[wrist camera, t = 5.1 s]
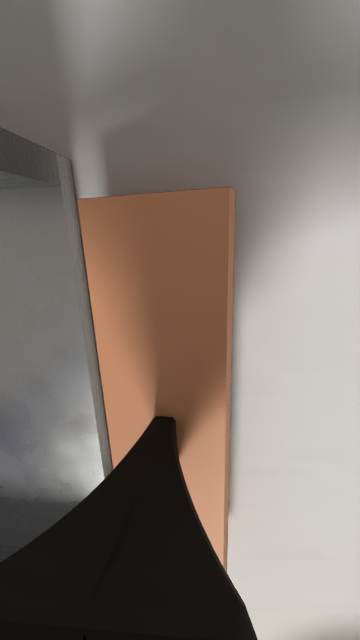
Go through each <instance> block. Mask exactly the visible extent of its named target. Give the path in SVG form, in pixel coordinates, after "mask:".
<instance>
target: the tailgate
mask: <svg viewBox="0 0 360 640" xmlns="http://www.w3.org/2000/svg"><path fill="white" fill-rule="evenodd" d="M235 200H236V191H235V190H234V189H232V188H231V187H221V188H208V189H196V190H184V191H171V192H159V193H147V194H135V195H122V196H110V197H98V198H85V199H77V203H78V210H79V217H80V225H81V232H82V240H83V247H84V255H85V262H86V269H87V277H88V284H89V292H90V299H91V306H92V314H93V321H94V329H95V336H96V343H97V351H98V358H99V366H100V373H101V380H102V388H103V395H104V403H105V410H106V418H107V425H108V432H109V440H110V447H111V455H112V462H113V469H114V468H115V467H116V466H117V465H118V464H119V462H120V461H121V460H122V459H123V458H124V457H125V455H126V454H127V453H128V452H129V450H130V449H131V448H132V447H133V445H134V444H135V443H136V442H137V440H138V439H139V438H140V436H141V435H142V434H143V432H144V431H145V429H146V428H147V427H148V425H149V424H150V422H151V421H152V419H153V418H154V417H155V416H165V417H173V418H174V419H175V420H176V434H177V450H178V456H179V461H180V465H181V468H182V472H183V475H184V479H185V482H186V485H187V488H188V491H189V493H190V496H191V499H192V501H193V504H194V507H195V509H196V511H197V514H198V516H199V519H200V521H201V523H202V525H203V527H204V529H205V532H206V534H207V536H208V538H209V540H210V542H211V544H212V546H213V548H214V550H215V552H216V554H217V556H218V558H219V560H220V562H221V564H222V565H223V567H224V569H225V571H226V573H227V547H228V503H229V460H230V417H231V373H232V330H233V287H234V243H235Z"/></svg>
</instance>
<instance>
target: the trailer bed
mask: <svg viewBox="0 0 360 640" xmlns="http://www.w3.org/2000/svg"><path fill="white" fill-rule="evenodd" d="M112 470H113V469H112V462H111V454H110V447H109V440H108V432H107V425H106V418H105V410H104V403H103V396H102V388H101V381H100V374H99V366H98V359H97V352H96V344H95V337H94V330H93V322H92V315H91V307H90V300H89V293H88V285H87V278H86V271H85V263H84V256H83V249H82V241H81V234H80V227H79V219H78V212H77V205H76V197H75V190H74V183H73V175H72V168H71V161H70V159H67V158H65V157H63V156H61V155H59V154H57V153H55V152H52V151H50V150H48V149H46V148H44V147H42V146H39V145H37V144H35V143H33V142H31V141H29V140H27V139H24V138H22V137H20V136H18V135H16V134H14V133H12V132H9V131H7V130H5V129H3V128H1V127H0V562H2V561H3V560H5V559H6V558H8V557H9V556H11V555H12V554H14V553H15V552H17V551H18V550H20V549H21V548H23V547H24V546H25V545H27V544H28V543H30V542H31V541H32V540H34V539H35V538H37V537H38V536H39V535H41V534H42V533H43V532H45V531H46V530H47V529H49V528H50V527H51V526H53V525H54V524H55V523H56V522H58V521H59V520H60V519H61V518H63V517H64V516H65V515H66V514H67V513H69V512H70V511H71V510H72V509H73V508H74V507H75V506H77V505H78V504H79V503H80V502H81V501H82V500H83V499H84V498H86V497H87V496H88V495H89V494H90V493H91V492H92V491H93V490H94V489H95V488H96V487H97V486H98V485H99V484H100V483H101V482H102V481H103V480H104V479H105V478H106V477H107V476H108V475H109V474H110V473H111V471H112Z"/></svg>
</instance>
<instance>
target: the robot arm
mask: <svg viewBox="0 0 360 640" xmlns="http://www.w3.org/2000/svg"><path fill="white" fill-rule="evenodd" d="M0 640H258V639H257V637H256V634H255V631H254V628H253V626H252V623H251V620H250V618H249V615H248V612H247V609H246V606H245V604H244V602H243V600H242V599H241V597H240V595H239V593H238V592H237V590H236V588H235V587H234V585H233V583H232V582H231V580H230V578H229V576H228V575H227V573H226V571H225V569H224V567H223V565H222V564H221V562H220V560H219V558H218V556H217V554H216V552H215V550H214V548H213V546H212V544H211V542H210V540H209V538H208V536H207V534H206V532H205V529H204V527H203V525H202V523H201V521H200V519H199V516H198V514H197V511H196V509H195V507H194V504H193V501H192V499H191V496H190V493H189V491H188V488H187V485H186V482H185V479H184V475H183V472H182V468H181V465H180V461H179V456H178V450H177V434H176V420H175V419H174V418H173V417H165V416H155V417H154V418H153V419H152V421H151V422H150V424H149V425H148V427H147V428H146V429H145V431H144V432H143V434H142V435H141V436H140V438H139V439H138V440H137V442H136V443H135V444H134V445H133V447H132V448H131V449H130V450H129V452H128V453H127V454H126V455H125V457H124V458H123V459H122V460H121V461H120V462H119V464H118V465H117V466H116V467H115V468H114V469H113V470H112V471H111V473H110V474H109V475H108V476H107V477H106V478H105V479H104V480H103V481H102V482H101V483H100V484H99V485H98V486H97V487H96V488H95V489H94V490H93V491H92V492H91V493H90V494H89V495H88V496H87V497H86V498H84V499H83V500H82V501H81V502H80V503H79V504H78V505H77V506H75V507H74V508H73V509H72V510H71V511H70V512H69V513H67V514H66V515H65V516H64V517H63V518H61V519H60V520H59V521H58V522H56V523H55V524H54V525H53V526H51V527H50V528H49V529H47V530H46V531H45V532H43V533H42V534H41V535H39V536H38V537H37V538H35V539H34V540H32V541H31V542H30V543H28V544H27V545H25V546H24V547H23V548H21V549H20V550H18V551H17V552H15V553H14V554H12V555H11V556H9V557H8V558H6V559H5V560H3V561H2V562H0Z"/></svg>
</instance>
